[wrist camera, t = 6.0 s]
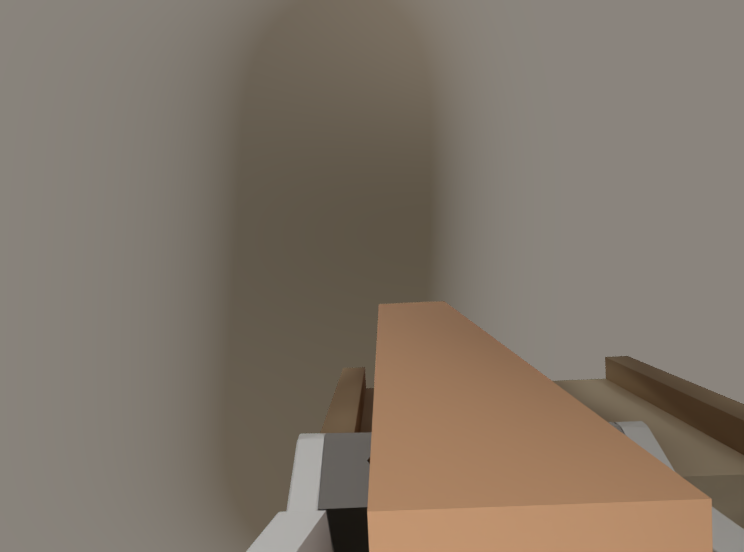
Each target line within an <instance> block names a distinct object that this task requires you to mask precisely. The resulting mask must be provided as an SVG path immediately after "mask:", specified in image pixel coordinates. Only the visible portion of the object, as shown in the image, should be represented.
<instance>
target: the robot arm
mask: <svg viewBox="0 0 744 552" xmlns="http://www.w3.org/2000/svg"><path fill="white" fill-rule="evenodd" d="M608 423H610V424H611V425H612V426H614V427H615V428H616V429H618V430H619V431H620V432H622V433H623V434H624V435H626V436H627V437H629V438H630V439H631V440H633V441H634V442H635V443H637V444H638V445H639V446H641V447H642V448H643V449H645V450H646V451H647V452H649V453H650V454H652V455H653V456H654V457H656V458H657V459H658V460H660V461H661V462H662V463H664V464H665V465H666V466H668V467H669V468H671V469H672V470H673V471H675V470H674V469H673V467H672V465H671V464H670V462H669V460H668V459H667V457H666V455H665V454H664V452H663V450H662V449H661V447H660V445H659V444H658V442H657V441H656V439H655V437H654V436H653V434H652V432H651V431H650V429H649V427H648V426H647V425H646V424H645V423H644V422H643V421H629V422H614V423H613V422H608ZM371 436H372V432H368V433H313V434H300V436H299V438H298V440H297V445H296V452H295V458H294V465H293V471H292V479H291V484H290V491H289V498H288V504H287V511H286V512H278V513H277V515H276V516H275V517H274V518H273V519H272V521H271V522H270V523H269V524H268V526H267V527H266V528H265V529H264V530H263V531H262V533H261V534H260V535H259V537H258V538H257V539H256V540H255V541H254V543H253V544H252V545H251V546H250V547H249V549H248V550H247V551H246V552H369V537H368V517H367V507H368V489H369V472H370V454H371ZM712 540H713V552H744V529H743V528H741V527H740V526H739V525H737V524H736V523H734V522H733V521H732V520H730V519H729V518H727V517H726V516H725V515H723V514H722V513H720V512H719V511H718V510H716V509H715V508H714V507H712Z"/></svg>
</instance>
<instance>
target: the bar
mask: <svg viewBox="0 0 744 552" xmlns="http://www.w3.org/2000/svg"><path fill="white" fill-rule="evenodd" d="M367 517H368V537H369V552H713V540H712V499H711V498H710V497H708V496H707V495H706V494H704V493H703V492H702V491H700V490H699V489H698V488H696V487H695V486H694V485H692V484H691V483H689V482H688V481H687V480H685V479H684V478H683V477H681V476H680V475H679V474H677V473H676V472H675V471H673V470H672V469H671V468H669V467H668V466H666V465H665V464H664V463H662V462H661V461H660V460H658V459H657V458H656V457H654V456H653V455H652V454H650V453H649V452H647V451H646V450H645V449H643V448H642V447H641V446H639V445H638V444H637V443H635V442H634V441H633V440H631V439H630V438H629V437H627V436H626V435H624V434H623V433H622V432H620V431H619V430H618V429H616V428H615V427H614V426H612V425H611V424H610V423H608V422H607V421H606V420H604V419H603V418H601V417H600V416H599V415H597V414H596V413H595V412H593V411H592V410H591V409H589V408H588V407H587V406H585V405H584V404H583V403H581V402H580V401H578V400H577V399H576V398H574V397H573V396H572V395H570V394H569V393H568V392H566V391H565V390H564V389H562V388H561V387H560V386H558V385H557V384H555V383H554V382H553V381H551V380H550V379H548V378H547V377H546V376H545V375H543V374H542V373H540V372H539V371H538V370H536V369H535V368H534V367H532V366H531V365H530V364H528V363H527V362H526V361H524V360H523V359H521V358H520V357H519V356H517V355H516V354H515V353H513V352H512V351H511V350H509V349H508V348H507V347H505V346H504V345H502V344H501V343H500V342H498V341H497V340H496V339H494V338H493V337H492V336H490V335H489V334H488V333H486V332H485V331H483V330H482V329H481V328H480V327H478V326H477V325H476V324H474V323H473V322H472V321H470V320H468V319H467V318H466V317H465V316H463V315H462V314H460V313H459V312H458V311H457V310H455V309H454V308H453V307H451V306H450V305H448V304H447V303H446V302H444V301H438V302H415V303H392V304H379V312H378V329H377V347H376V366H375V382H374V400H373V418H372V436H371V454H370V472H369V489H368V507H367Z"/></svg>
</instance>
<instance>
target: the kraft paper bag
mask: <svg viewBox="0 0 744 552" xmlns="http://www.w3.org/2000/svg"><path fill="white" fill-rule="evenodd" d="M605 362H606V379H589V380H588V379H587V380H564V381H553V382H554V383H555V384H557V385H558V386H560V387H561V388H562V389H564V390H565V391H566V392H568V393H569V394H570V395H572V396H573V397H574V398H576V399H577V400H578V401H580V402H581V403H583V404H584V405H585V406H587V407H588V408H589V409H591V410H592V411H593V412H595V413H596V414H597V415H599V416H600V417H601V418H603V419H604V420H606V421H607V422H613V423H614V422H629V421H643V422H644V423H645V424H646V425H647V426H648V427H649V429H650V431H651V432H652V434H653V436H654V437H655V439H656V441H657V442H658V444H659V445H660V447H661V449H662V450H663V452H664V454H665V455H666V457H667V459H668V460H669V462H670V464H671V465H672V467H673V469H674V470H675V472H676V473H677V474H679V475H680V476H681V477H683V478H684V479H685V480H687V481H688V482H689V483H691V484H692V485H694V486H695V487H696V488H698V489H699V490H700V491H702V492H703V493H704V494H706V495H707V496H708V497H710V498H711V499H712V507H714V508H715V509H716V510H718V511H719V512H720V513H722V514H723V515H725V516H726V517H727V518H729V519H730V520H732V521H733V522H734V523H736V524H737V525H739V526H740V527H741V528H743V529H744V404H742V403H739V402H737V401H735V400H732V399H730V398H727V397H725V396H723V395H720V394H718V393H715V392H713V391H710V390H708V389H706V388H703V387H701V386H698V385H696V384H694V383H691V382H689V381H686V380H684V379H681V378H679V377H677V376H674V375H672V374H669V373H667V372H665V371H662V370H660V369H657V368H655V367H652V366H650V365H648V364H645V363H643V362H640V361H638V360H636V359H633V358H631V357H628V356H620V357H605ZM373 400H374V388H369V389H368V388H367V389H366V380H365V367H358V368H343V370H342V373H341V376H340V379H339V382H338V384H337V388H336V390H335V393H334V396H333V399H332V402H331V404H330V407H329V410H328V413H327V416H326V418H325V422H324V424H323V427H322V430H321V433H368V432H372V418H373Z"/></svg>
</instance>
